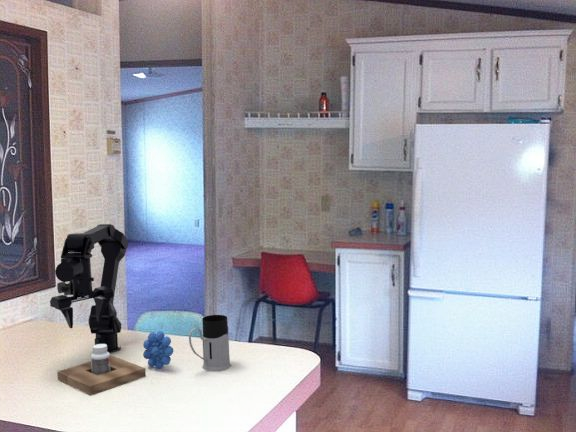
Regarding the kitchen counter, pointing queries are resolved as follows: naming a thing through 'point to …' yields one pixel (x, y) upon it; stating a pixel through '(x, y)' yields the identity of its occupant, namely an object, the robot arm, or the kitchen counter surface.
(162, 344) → the grapes
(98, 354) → the pill bottle
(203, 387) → the kitchen counter surface
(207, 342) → the glass holder
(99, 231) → the robot arm
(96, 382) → the hole plate
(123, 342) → the kitchen counter surface
